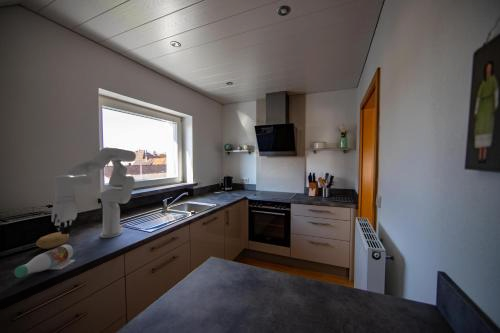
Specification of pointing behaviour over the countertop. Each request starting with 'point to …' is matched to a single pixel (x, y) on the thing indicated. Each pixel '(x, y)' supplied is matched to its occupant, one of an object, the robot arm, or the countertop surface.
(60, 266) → the pad
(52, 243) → the potato
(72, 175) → the robot arm
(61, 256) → the milk bottle
